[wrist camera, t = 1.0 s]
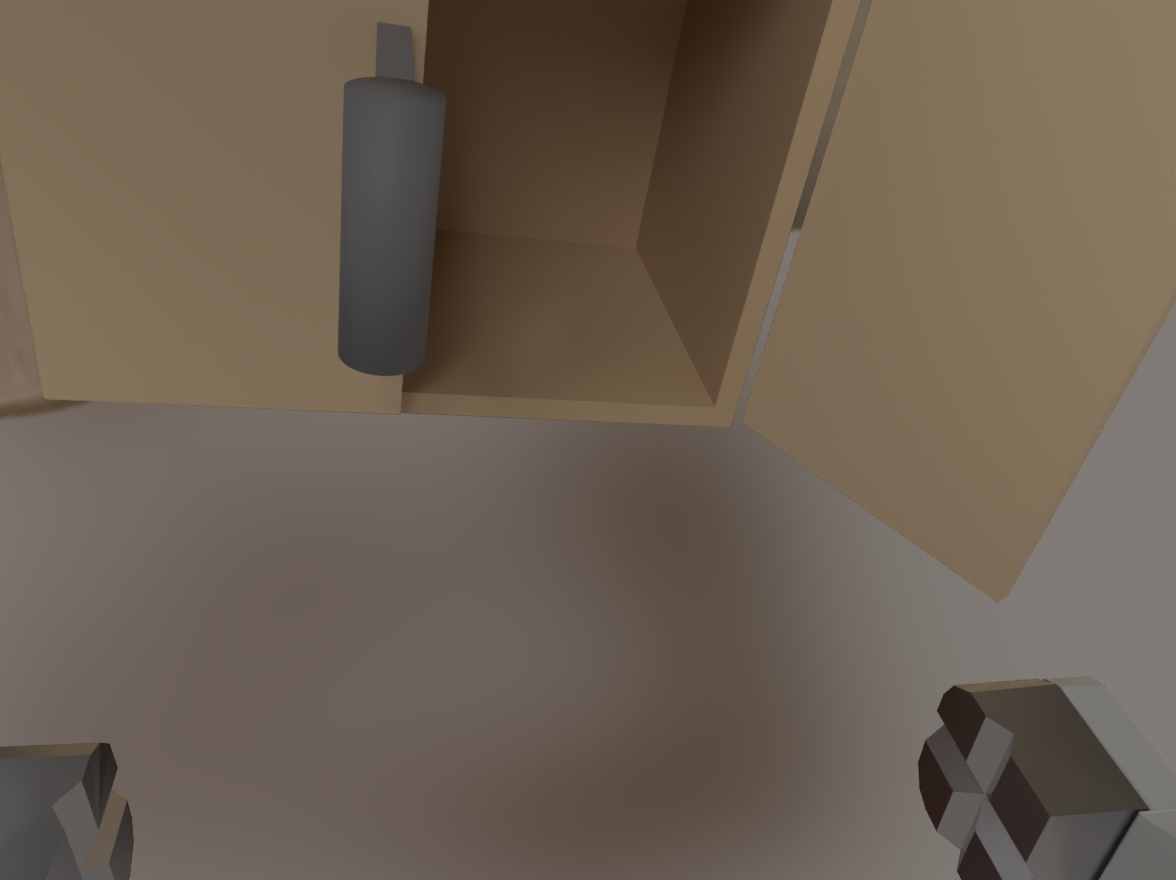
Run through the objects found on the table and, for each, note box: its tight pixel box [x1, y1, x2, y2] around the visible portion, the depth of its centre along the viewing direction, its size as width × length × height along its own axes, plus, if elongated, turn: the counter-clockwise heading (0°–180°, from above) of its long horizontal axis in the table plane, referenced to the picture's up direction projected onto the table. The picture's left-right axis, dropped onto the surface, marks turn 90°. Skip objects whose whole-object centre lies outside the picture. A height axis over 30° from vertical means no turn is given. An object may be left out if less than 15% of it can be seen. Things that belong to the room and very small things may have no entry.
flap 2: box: [742, 0, 1176, 602], centre depth 26 cm, size 17×10×1 cm
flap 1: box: [0, 0, 447, 415], centre depth 22 cm, size 17×10×7 cm, turn 170°
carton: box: [0, 0, 861, 428], centre depth 32 cm, size 18×22×14 cm
